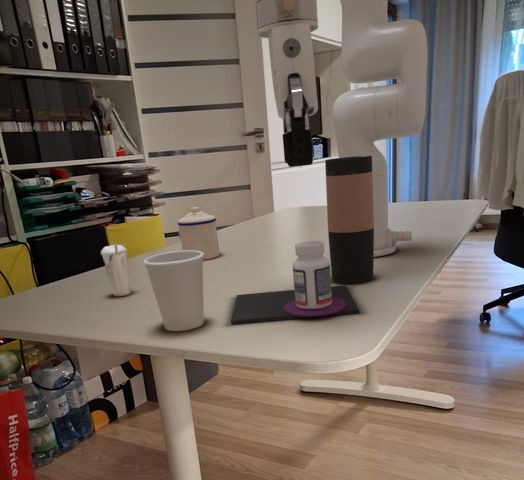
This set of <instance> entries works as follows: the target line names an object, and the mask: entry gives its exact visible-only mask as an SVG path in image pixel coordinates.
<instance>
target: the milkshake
mask: <svg viewBox="0 0 524 480" xmlns="http://www.w3.org/2000/svg"><path fill="white" fill-rule="evenodd" d="M100 255H101V259H102V261H103V264H104V268H105V270H106V274H107V278H108V282H109V284H110V288H111V291H112V296H114V297H125V296H128V295H130V294H132V288H131V287H132V286H131V278H130V271H129V269H130V268H129V261H128V250H127V248H126V247H125V246H124V245H121V244H118V242H117V241H114V242H113V244H110V245H106V246H104V247H103V248H102V249H101V251H100Z"/></svg>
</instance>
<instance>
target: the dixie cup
mask: <svg viewBox="0 0 524 480" xmlns="http://www.w3.org/2000/svg"><path fill="white" fill-rule="evenodd" d="M203 256H204V253H203V252H201V251H196V250H183V249H182V250H175V251H174V250H173V251H166V252H162V253H157V254H153V255H151V256H148V257H146V258H145V259H144V260H143V264H144V265H145V267H146V271H147V273H148V276H149V281H150V284H151V287H152V290H153V293H154V297H155V299H156V300H155V301H156V304H157V307H158V310H159V313H160V316H161V321H162V322H163V326H164V329H165V330H167V331H171V332H182V331H189V330H190V331H191V330H194V329H196V328H199V327H201V326H202V325H204V323H205V320H204V319H205V318H204V317H205V316H204V315H205V314H204V313H205V311H204V310H205V309H204V264H203V263H204V260H203Z"/></svg>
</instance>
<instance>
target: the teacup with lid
mask: <svg viewBox="0 0 524 480" xmlns="http://www.w3.org/2000/svg"><path fill="white" fill-rule="evenodd" d="M200 209H201V208H200V207H199V206H193V207H191V208H190V212H188V213H187V214H185V215H184V217H181V218H179V219H178V220H177V225H178V228H179V229H178V236H179V240H180V242H181V249H182V251H183V250H196V251H201V252H203V253H204V256H203V261H205V260H210V259H214V258H217V257H219V256H220V247H219V238H218V232H217V231H218V230H217V222H216V221H217V218H216V216H215V215H212V214H209V213H207V212H204V211H201V210H200Z"/></svg>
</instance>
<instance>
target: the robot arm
mask: <svg viewBox="0 0 524 480" xmlns="http://www.w3.org/2000/svg"><path fill="white" fill-rule="evenodd" d="M339 1H340V5H341V49H340V50H341V51H340V52H341V57H340V58H341V70H342V75H343V77H344V79H345V80H346V81H347V82H348V83H351V84H356V85H357V84H358V85H359V84H369V83H378V82H385V81H392V80H399V81H400V82H398V83H391V84H384V85H376V86H368V87H361V88H355V89H351V90H349V91H346V92H344V93H342V94H340V95H339V96H338V97H337V98H336V99H335V101H334V102H333V106H332V112H331V113H332V115H331V116H332V123H333V124H332V125H333V130H334V133H335V134H334V135H335V140H336V146H337V151H338V152H337V153H338V158H344V157H354V156H361V157H365V156H372V179H373V213H374V258H378V257H382V256H387V255H391V254H393V253H395V252H396V250H397V245H396V244H397V242H407V241H412V238H413V236H412V231H411V230H407V231H406V230H405V231H396V230H394V231H393V230H392V229H390V228H389V201H388V200H389V195H388V194H389V191H388V190H389V188H388V187H389V185H388V180H389V179H388V175H389V174H388V173H389V172H388V162H387V160H386V158H385V156H384V154H383V153H382V152H381V150H379V148H378V147H377V146H376V145H375V143H374V142H377V141H381V140H392V139H402V138H408V137H409V138H410V137H414V136H415V135H418V134H419V133H420V132H421V131H422V129H423V127H424V124H425V119H426V105H427V78H428V77H427V76H428V39H427V33H426V29H425V27H424V25H423V23H422V22H421V21H419V20H417V19H414V18H405V19H400V20H395V21H390V22H388V3H389V2H388V1H389V0H339ZM254 3H255V13H256V24H257V35H258V37H259V38H263V39H267V40H268V50H269V60H270V61H269V62H270V71H271V80H272V88H273V95H274V101H275V106H276V111H277V116H278V118H280V119H282V129H283V133H282V144H283V157H284V158H283V159H284V163H285V164H287V166H288V167H289V168H294V167H302V166H311V165H312V164H313V163H314V156H313V141H312V130H310V121H309V120H310V119H309V117H311V116H314V115H316V113H317V112H318V110H319V104H318V103H319V102H318V94H317V93H318V91H317V81H316V69H315V56H314V46H313V39H312V38H313V37H312V33H313V32H314V31H317V30H318V29H319V22H318V21H319V20H318V19H319V18H318V2H317V0H254Z"/></svg>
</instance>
